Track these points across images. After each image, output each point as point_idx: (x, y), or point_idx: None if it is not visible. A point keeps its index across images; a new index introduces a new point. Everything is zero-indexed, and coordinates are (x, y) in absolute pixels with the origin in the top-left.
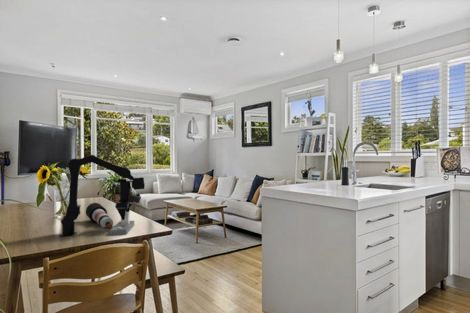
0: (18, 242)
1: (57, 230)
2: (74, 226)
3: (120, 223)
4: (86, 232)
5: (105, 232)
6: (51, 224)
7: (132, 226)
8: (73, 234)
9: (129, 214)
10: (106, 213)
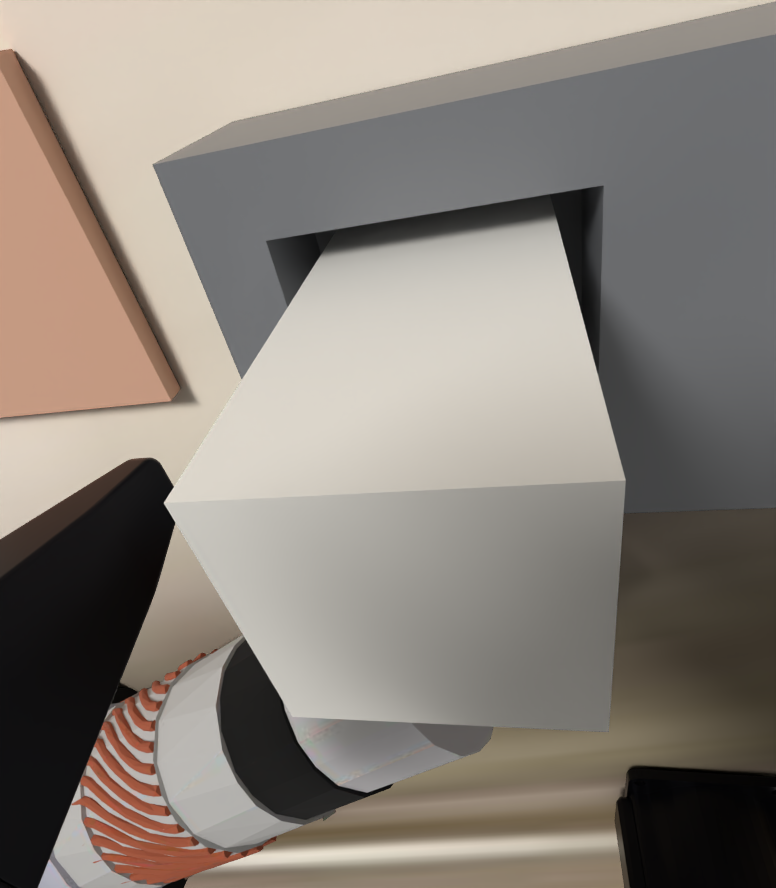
0: None
1: (501, 848)
2: (715, 880)
3: None
4: (633, 712)
5: (706, 543)
6: (313, 874)
7: (505, 72)
8: (761, 783)
9: (324, 418)
10: None
